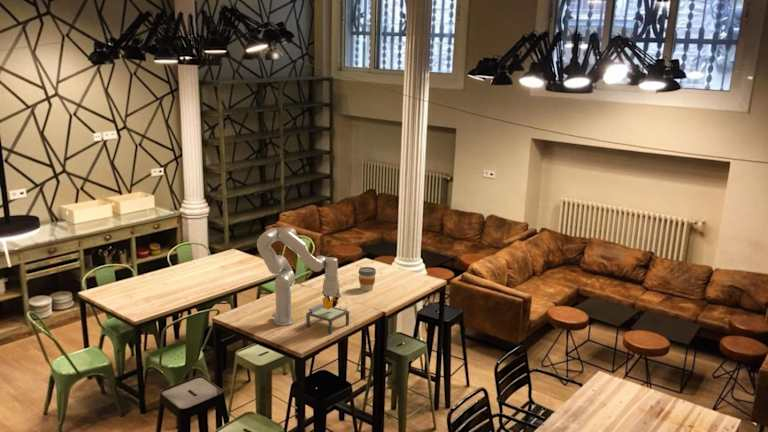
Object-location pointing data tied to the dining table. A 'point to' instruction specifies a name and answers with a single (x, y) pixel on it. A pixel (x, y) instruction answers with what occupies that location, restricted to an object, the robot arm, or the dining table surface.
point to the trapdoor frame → (327, 318)
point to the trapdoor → (325, 311)
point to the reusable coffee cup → (367, 278)
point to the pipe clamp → (328, 303)
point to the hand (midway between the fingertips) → (331, 305)
